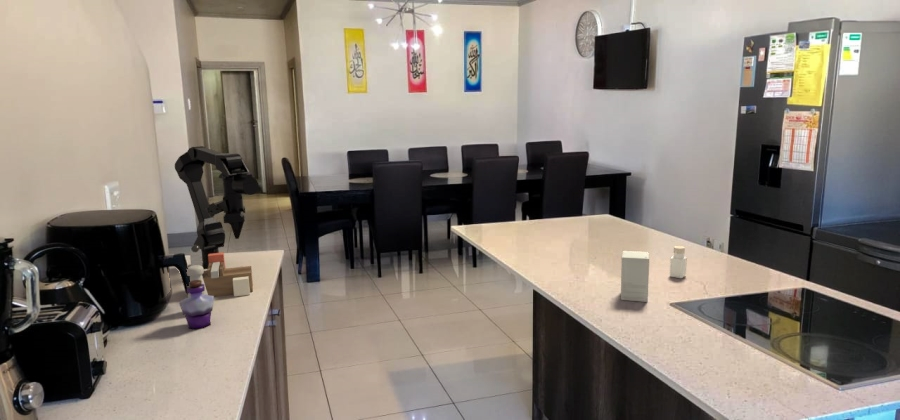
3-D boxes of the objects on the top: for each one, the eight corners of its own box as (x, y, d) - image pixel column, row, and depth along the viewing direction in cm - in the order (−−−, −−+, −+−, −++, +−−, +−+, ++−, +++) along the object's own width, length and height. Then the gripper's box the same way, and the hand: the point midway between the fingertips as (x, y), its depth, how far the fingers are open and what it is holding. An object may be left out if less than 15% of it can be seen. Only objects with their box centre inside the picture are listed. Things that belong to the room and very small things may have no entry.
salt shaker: (202, 315, 157) (197, 269, 154) (183, 314, 158) (178, 269, 156) (214, 308, 163) (210, 263, 160) (196, 307, 164) (191, 262, 161)
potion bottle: (191, 319, 155) (186, 276, 152) (223, 318, 154) (218, 275, 152) (175, 332, 146) (169, 286, 144) (208, 331, 146) (204, 286, 144)
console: (191, 291, 178) (188, 265, 176) (252, 284, 183) (250, 259, 182) (188, 299, 170) (185, 272, 169) (252, 291, 176) (250, 265, 174)
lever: (192, 278, 171) (189, 245, 173) (203, 277, 172) (201, 244, 174) (191, 277, 169) (188, 244, 170) (202, 276, 170) (200, 243, 171)
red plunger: (210, 272, 181) (208, 253, 180) (225, 270, 182) (223, 252, 181) (207, 284, 169) (205, 264, 168) (223, 282, 170) (221, 263, 169)
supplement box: (647, 294, 167) (649, 251, 164) (647, 302, 160) (649, 258, 157) (621, 291, 169) (622, 249, 167) (619, 300, 162) (621, 256, 160)
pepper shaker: (686, 276, 182) (688, 246, 180) (681, 279, 179) (683, 249, 177) (673, 273, 185) (675, 244, 183) (668, 276, 182) (670, 247, 180)
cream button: (234, 293, 174) (232, 278, 173) (249, 292, 175) (248, 276, 174) (234, 296, 172) (232, 280, 171) (249, 294, 173) (248, 278, 172)
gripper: (208, 190, 196) (213, 234, 199) (204, 198, 179) (209, 247, 182) (243, 187, 199) (247, 231, 202) (242, 196, 182) (246, 244, 185)
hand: (237, 238), depth 193 cm, fingers closed
